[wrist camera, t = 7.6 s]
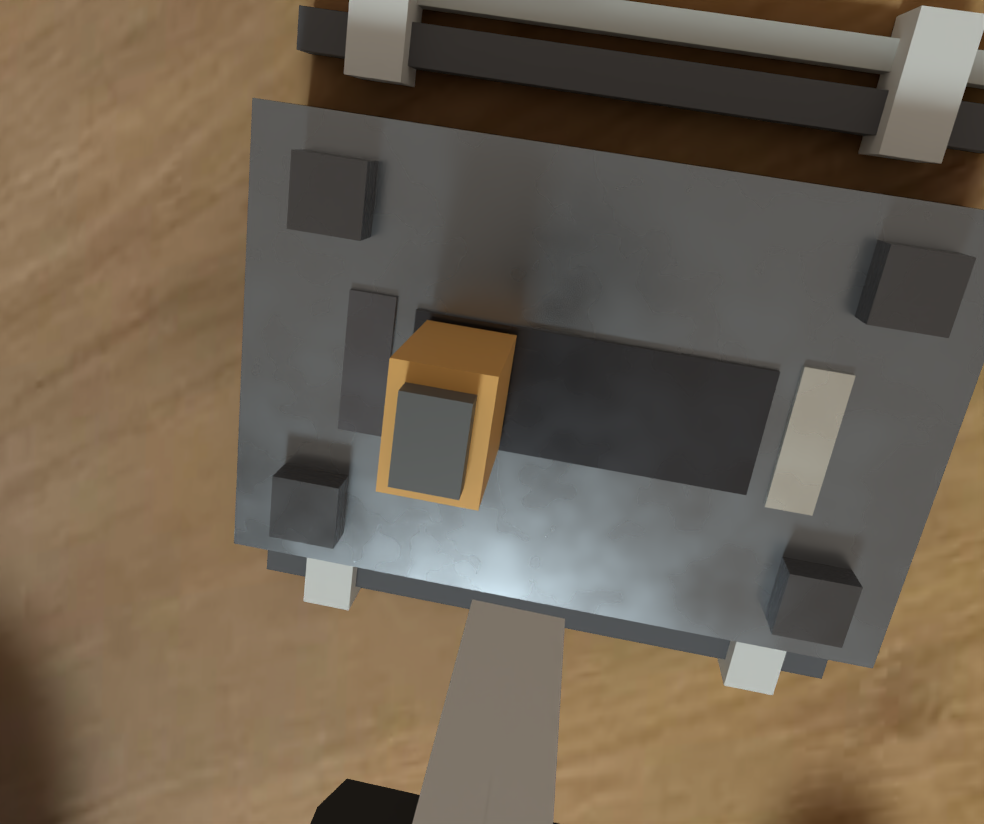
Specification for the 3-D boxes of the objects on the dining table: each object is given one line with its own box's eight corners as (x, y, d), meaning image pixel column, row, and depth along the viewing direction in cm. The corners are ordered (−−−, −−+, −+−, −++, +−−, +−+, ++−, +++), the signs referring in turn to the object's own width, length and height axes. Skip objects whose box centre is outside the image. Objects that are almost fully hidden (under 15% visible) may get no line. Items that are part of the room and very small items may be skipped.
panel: (282, 490, 35) (220, 558, 29) (306, 105, 30) (236, 95, 24) (833, 594, 33) (883, 689, 28) (962, 206, 28) (1058, 221, 22)
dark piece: (278, 567, 36) (258, 592, 34) (317, -64, 28) (295, -81, 26) (808, 671, 35) (821, 705, 33) (1020, 33, 26) (1056, 23, 24)
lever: (413, 432, 27) (368, 503, 22) (426, 319, 26) (382, 365, 21) (499, 448, 27) (474, 523, 22) (516, 335, 26) (495, 385, 20)
